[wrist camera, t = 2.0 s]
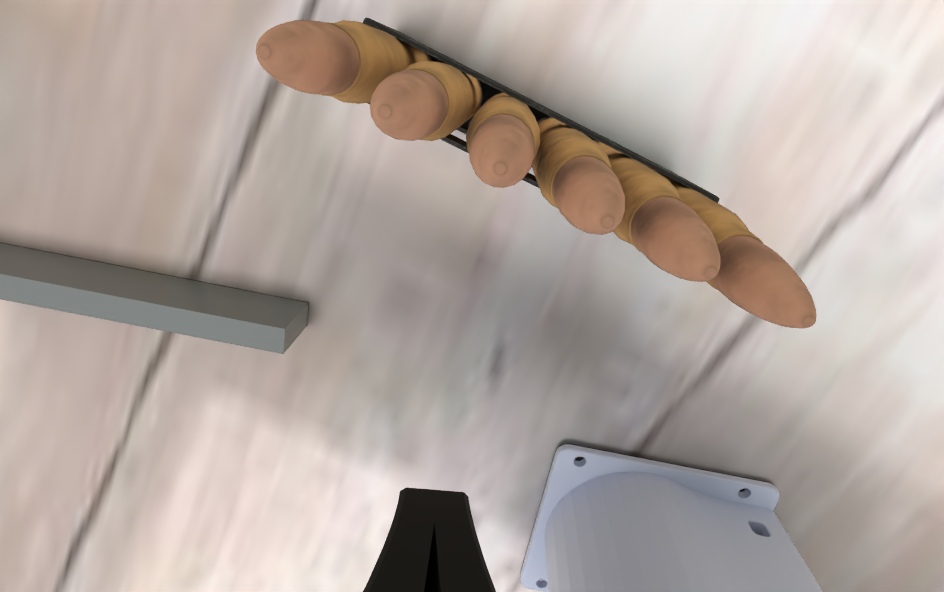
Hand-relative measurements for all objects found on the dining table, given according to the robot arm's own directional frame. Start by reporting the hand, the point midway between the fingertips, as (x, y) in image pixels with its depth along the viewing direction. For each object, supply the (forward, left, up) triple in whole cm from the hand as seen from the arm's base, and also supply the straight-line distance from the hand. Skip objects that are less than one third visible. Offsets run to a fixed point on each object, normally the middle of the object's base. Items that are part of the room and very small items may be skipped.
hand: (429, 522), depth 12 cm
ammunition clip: (-1, -8, -11) cm, 13 cm away
